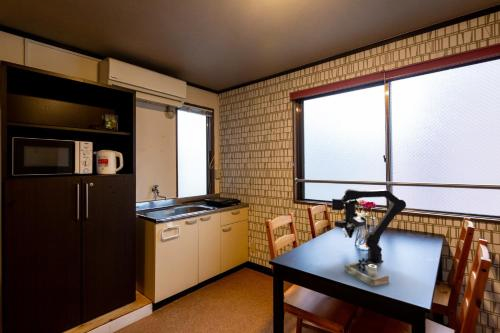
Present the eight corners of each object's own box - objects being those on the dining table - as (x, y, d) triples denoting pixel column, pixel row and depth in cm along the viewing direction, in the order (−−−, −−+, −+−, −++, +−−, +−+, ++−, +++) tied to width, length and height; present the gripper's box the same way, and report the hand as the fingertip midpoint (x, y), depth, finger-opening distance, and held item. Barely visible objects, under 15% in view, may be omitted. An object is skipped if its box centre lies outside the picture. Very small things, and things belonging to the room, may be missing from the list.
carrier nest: (344, 271, 125) (344, 265, 125) (359, 267, 129) (359, 262, 129) (373, 286, 109) (373, 279, 109) (388, 282, 113) (388, 275, 113)
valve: (381, 281, 114) (369, 270, 126) (381, 267, 114) (369, 257, 126) (367, 281, 114) (356, 270, 126) (367, 267, 114) (356, 257, 126)
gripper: (348, 215, 131) (348, 244, 131) (373, 212, 138) (373, 239, 138) (333, 211, 141) (333, 238, 141) (358, 209, 148) (358, 234, 148)
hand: (350, 237), depth 142 cm, fingers closed
